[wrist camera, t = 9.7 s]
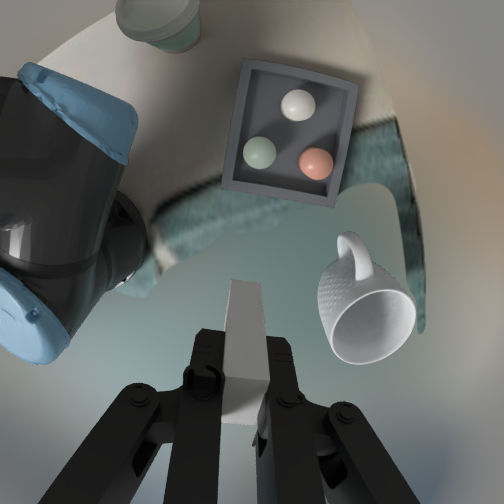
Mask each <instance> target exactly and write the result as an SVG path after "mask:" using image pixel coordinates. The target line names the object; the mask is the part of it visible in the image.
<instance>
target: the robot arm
mask: <svg viewBox="0 0 504 504" xmlns="http://www.w3.org/2000/svg"><path fill="white" fill-rule="evenodd" d="M17 76H18V78H9V77H3V76H0V344H1V345H2V346H3V347H4V348H6V349H7V350H8V351H9V352H11V353H12V354H14V355H15V356H17V357H19V358H20V359H22V360H24V361H27V362H29V363H32V364H43V365H44V364H49V363H52V362H53V361H55V360H56V359H57V358H58V356H59V355H60V354H61V353H62V352H63V350H64V349H66V348H67V347H68V346H69V344H70V340H71V339H72V338H73V336H74V335H75V333H76V332H77V330H78V329H79V327H80V326H81V324H82V323H83V322H84V320H85V319H86V317H87V316H88V315H89V313H90V312H91V310H92V309H93V308H94V306H95V305H96V303H97V302H98V301H99V299H100V298H101V297H102V295H103V294H104V293H105V292H107V291H109V290H111V289H113V288H115V287H118V286H120V285H122V284H124V283H125V282H127V281H128V280H129V279H130V278H131V277H132V276H133V275H134V274H135V273H136V271H137V270H138V268H139V267H140V266H141V264H142V262H143V260H144V257H145V254H146V248H147V235H146V229H145V225H144V222H143V220H142V217H141V215H140V213H139V211H138V210H137V208H136V207H135V206H134V204H133V203H132V202H131V201H130V200H129V199H128V198H127V197H126V196H125V195H123V194H122V193H121V192H119V191H117V188H118V185H119V182H120V179H121V176H122V174H123V171H124V168H125V166H127V165H128V162H129V160H128V155H129V152H130V149H131V146H132V143H133V140H134V137H135V134H136V131H137V128H138V115H137V113H136V111H135V109H134V108H133V107H132V106H131V105H130V104H129V103H127V102H125V101H123V100H121V99H119V98H116V97H114V96H112V95H110V94H108V93H106V92H103V91H101V90H99V89H97V88H94V87H92V86H90V85H87V84H85V83H83V82H80V81H78V80H75V79H73V78H71V77H68V76H66V75H63V74H60V73H58V72H55V71H53V70H50V69H48V68H45V67H43V66H40V65H37V64H35V63H32V62H28V63H26V64H24V66H23V67H22V69H20V70H19V71H18V74H17ZM263 312H264V311H263V301H262V291H261V283H257V282H250V281H243V280H235V279H231V283H230V289H229V296H228V302H227V309H226V316H225V322H224V331H216V330H210V329H203V328H202V329H201V330H200V331H199V332H198V334H196V337H195V342H194V346H193V352H192V356H191V361H190V365H189V366H188V367H186V369H185V371H184V373H183V385H182V386H180V387H179V388H177V389H175V390H171V391H161V392H157V391H156V390H155V388H153V387H151V386H150V385H148V384H143V383H133V384H130V385H127V386H126V387H125V388H124V389H122V391H121V392H120V393H119V394H118V396H117V397H116V398H115V400H114V401H113V402H112V404H111V405H110V406H109V408H108V409H107V410H106V412H105V413H104V414H103V416H102V417H101V418H100V420H99V421H98V422H97V423H96V425H95V426H94V427H93V429H92V430H91V431H90V433H89V434H88V436H87V437H86V438H85V440H84V441H83V442H82V444H81V445H80V446H79V448H78V449H77V450H76V452H75V453H74V454H73V456H72V457H71V458H70V460H69V461H68V462H67V464H66V465H65V467H64V468H63V469H62V471H61V472H60V473H59V475H58V476H57V478H56V479H55V480H54V482H53V483H52V484H51V486H50V487H49V489H48V490H47V491H46V493H45V495H44V496H43V497H42V498H41V500H40V501H39V503H38V504H130V502H131V500H132V498H133V497H134V495H135V493H136V491H137V489H138V487H139V486H140V484H141V482H142V480H143V478H144V477H145V475H146V473H147V471H148V469H149V467H150V466H151V464H152V462H153V460H154V458H155V456H156V455H157V453H158V451H159V449H160V447H161V445H162V444H164V443H173V445H172V451H171V457H170V463H169V469H168V476H167V482H166V488H165V495H164V502H163V504H217V498H218V475H219V455H220V435H221V422H225V423H235V424H247V425H255V424H256V421H257V420H258V429H257V432H256V435H255V437H254V440H253V444H252V446H255V444H256V472H257V473H256V474H257V503H258V504H326V501H325V496H326V498H327V500H328V502H329V504H420V502H419V501H418V499H417V498H416V496H415V495H414V493H413V491H412V490H411V488H410V487H409V485H408V484H407V482H406V480H405V479H404V477H403V476H402V474H401V473H400V471H399V470H398V468H397V466H396V465H395V463H394V462H393V460H392V459H391V457H390V455H389V454H388V452H387V451H386V449H385V448H384V446H383V444H382V443H381V441H380V440H379V438H378V437H377V435H376V433H375V432H374V430H373V429H372V427H371V426H370V424H369V423H368V421H367V420H366V418H365V416H364V415H363V413H362V412H361V410H360V409H359V408H358V407H357V406H355V405H354V404H352V403H349V402H345V401H343V402H337V403H334V404H332V406H331V407H330V408H328V407H324V406H320V405H317V404H314V403H312V402H310V401H308V400H306V398H305V395H304V394H302V393H301V391H299V388H298V382H297V377H296V372H295V367H294V363H293V362H294V361H293V356H292V351H291V346H290V344H289V343H288V342H287V340H286V339H285V338H282V337H272V336H266V332H265V322H264V313H263ZM324 494H325V495H324Z"/></svg>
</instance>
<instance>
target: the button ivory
mask: <svg viewBox="0 0 504 504" xmlns="http://www.w3.org/2000/svg"><path fill="white" fill-rule="evenodd" d="M314 111H315V101H314V98H313V97H312V96H311V94H309V93H308V92H306V91H304V90H299V89H297V90H293V91H290V92H289V93H288V94H287V95H285V96H284V97H283V99H282V100H281V102H280V112H281V114H282V115H283V116H284V117H285V118H286V119H287V120H289V121H293V122H297V121H302V120H306V119H308V118H310V117H311V116H312V115H313V113H314Z"/></svg>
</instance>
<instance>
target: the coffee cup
mask: <svg viewBox="0 0 504 504" xmlns="http://www.w3.org/2000/svg"><path fill="white" fill-rule="evenodd" d="M199 5H200V0H118V1H117V4H116V10H115V12H116V21H117V24H118V26H119V28H120V30H121V31H122V32H123V33H124V34H125V35H126V36H127V37H129V38H131V39H133V40H136V41H141V42H146V43H148V44H151V45H153V46H155V47H157V48H159V49H161V50H163V51H165V52H168V53H181V52H184V51H187V50H189V49H190V48H192V47H193V46H194V45H195V44H196V43H197V41H198V39H199V37H200V33H201V30H200V18H199Z"/></svg>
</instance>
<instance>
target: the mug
mask: <svg viewBox="0 0 504 504" xmlns="http://www.w3.org/2000/svg"><path fill="white" fill-rule="evenodd" d="M337 247H338V254H339V259H337V260H336V261H334V262H332V263H331V264H330V265H329V266H328V267H327V268H326V270H325V271H324V273H323V274H322V277H321V279H320V283H319V288H318V294H317V295H318V307H319V313H320V317H321V319H322V324H323V326H324V330H325V332H326V335H327V337H328V339H329V342H330V345H331V347H332V350H333V351H334V353H335V354H336V355H337V356H338V357H339V358H340V359H341V360H343V361H345V362H347V363H351V364H369V363H373V362H376V361H379V360H381V359H383V358H385V357H387V356H389V355H390V354H392V353H393V352H395V351H396V350H397V349H398V348H399V347H400V346H401V345H402V344H403V343H404V342H405V341H406V339H407V338H408V336H409V335H410V333H411V331H412V329H413V327H414V324H415V319H416V309H415V305H414V303H413V301H412V299H411V298H410V296H409V295H408V294H407V293H406V291H405V290H404V289H403V288H402V287H401V285H400V284H399V283H398V282H397V281H396V280H395V279H394V277H392V276H391V275H390V273H388V272H387V271H386V270H385V269H383V268H382V267H381V266H380V265H377V264H376V263H374V262H372V261H371V258H370V255H369V252H368V250H367V248H366V246H365V244H364V242H363V240H362V239H361V238H360V237H359V236H358V235H357V234H356V233H354V232H344V233H341V234H340V235H339V236H338V239H337ZM350 248H351V250H352V252H353V255H354V256H351V251H350Z"/></svg>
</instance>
